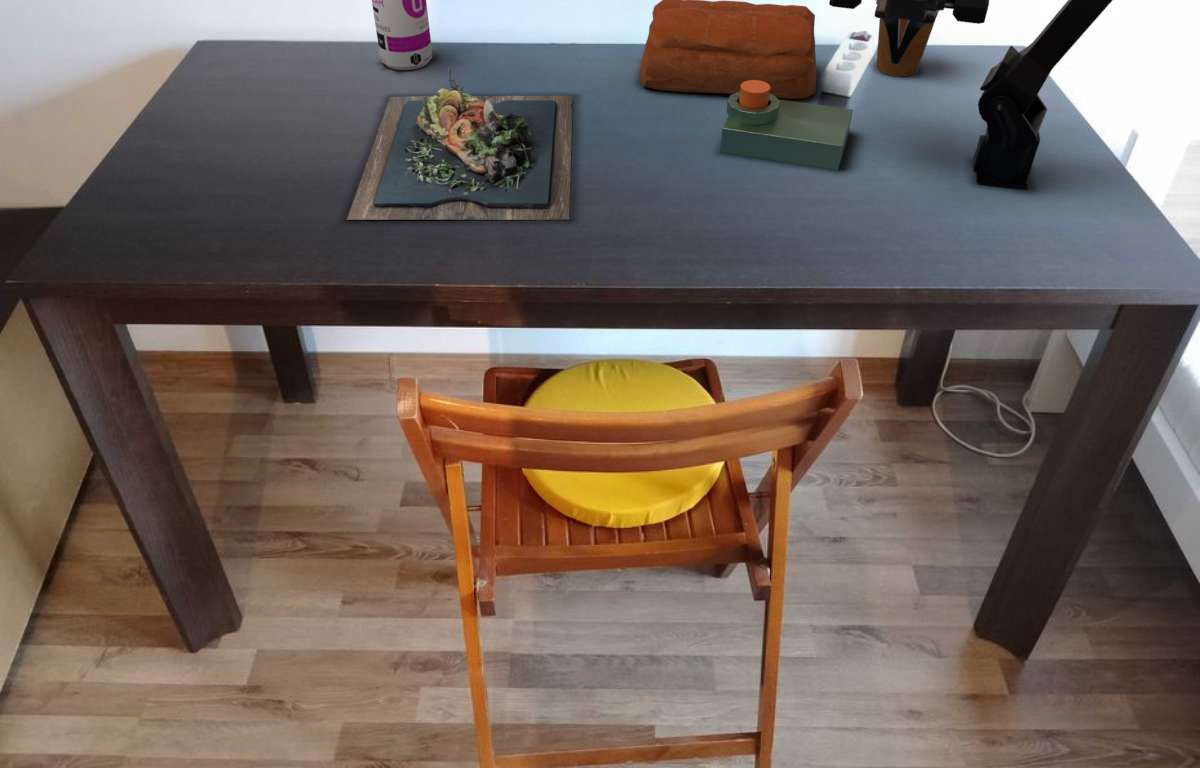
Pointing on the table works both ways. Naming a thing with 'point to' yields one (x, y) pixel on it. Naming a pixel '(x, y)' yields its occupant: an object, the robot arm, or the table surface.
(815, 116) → the block
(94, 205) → the table surface
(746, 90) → the button
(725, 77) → the bread
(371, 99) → the table surface
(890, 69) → the disposable coffee cup
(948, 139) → the table surface
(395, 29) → the supplement can
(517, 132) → the plated dish
